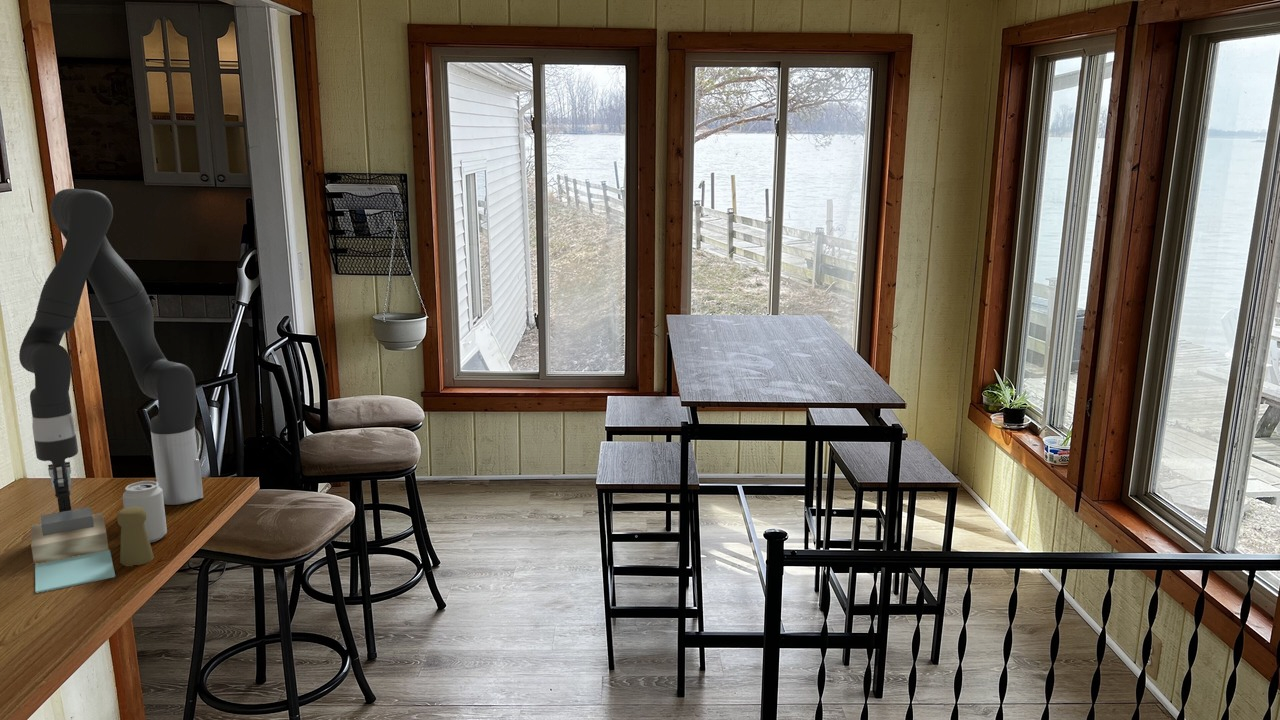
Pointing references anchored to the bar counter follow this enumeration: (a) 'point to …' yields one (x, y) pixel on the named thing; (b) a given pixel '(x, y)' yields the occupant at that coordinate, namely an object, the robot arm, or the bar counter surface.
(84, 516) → the grey rectangular block
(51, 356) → the robot arm
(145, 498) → the can
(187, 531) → the bar counter surface
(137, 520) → the cork
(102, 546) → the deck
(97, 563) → the mat
